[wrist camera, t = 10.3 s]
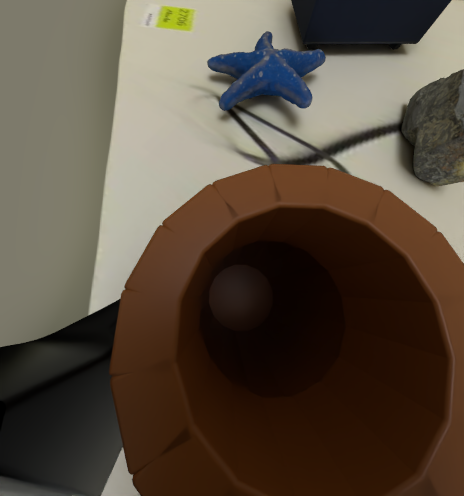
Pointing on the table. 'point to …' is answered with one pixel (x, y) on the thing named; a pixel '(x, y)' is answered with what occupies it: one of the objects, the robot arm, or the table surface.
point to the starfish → (267, 73)
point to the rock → (438, 130)
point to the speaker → (365, 21)
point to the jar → (293, 344)
